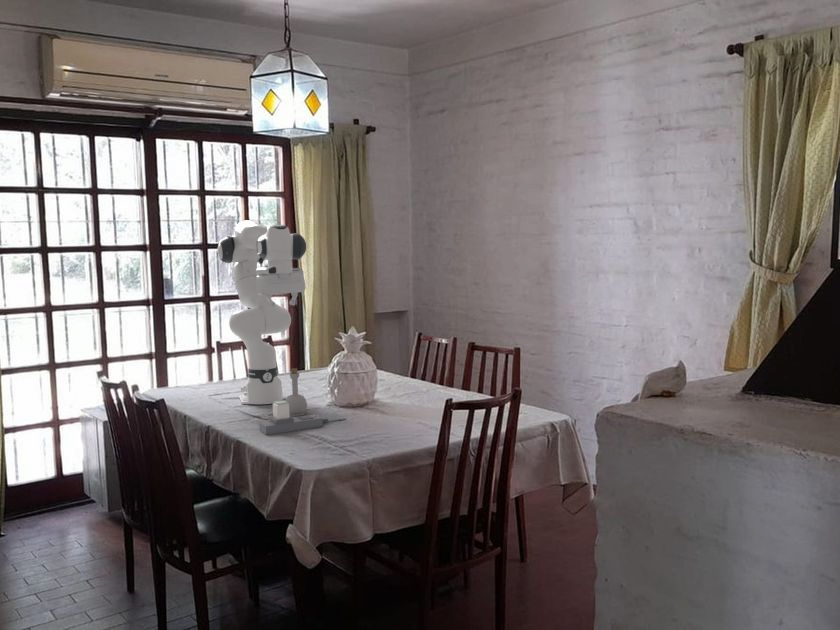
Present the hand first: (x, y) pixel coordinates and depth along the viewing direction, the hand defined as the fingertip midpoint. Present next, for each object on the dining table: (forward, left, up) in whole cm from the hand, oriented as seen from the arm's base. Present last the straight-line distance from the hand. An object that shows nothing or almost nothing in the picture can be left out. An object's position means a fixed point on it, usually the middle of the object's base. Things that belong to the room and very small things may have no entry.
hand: (282, 306), depth 293 cm
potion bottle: (-5, +5, -43) cm, 43 cm away
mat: (+10, +12, -43) cm, 45 cm away
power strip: (+16, -2, -42) cm, 45 cm away
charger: (+16, -8, -40) cm, 43 cm away
